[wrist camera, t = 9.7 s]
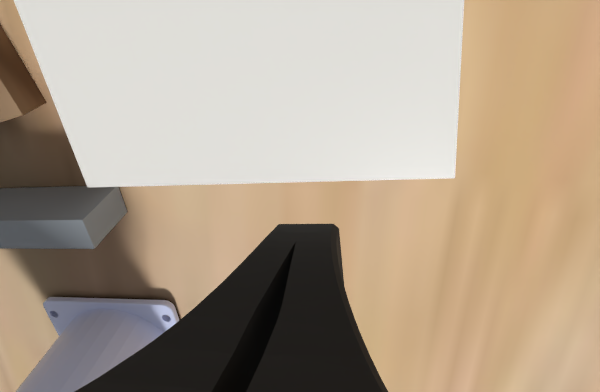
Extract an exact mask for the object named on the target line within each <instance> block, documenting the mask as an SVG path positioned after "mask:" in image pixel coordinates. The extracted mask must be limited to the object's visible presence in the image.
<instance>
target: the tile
mask: <svg viewBox="0 0 600 392" xmlns="http://www.w3.org/2000/svg"><path fill="white" fill-rule="evenodd" d="M45 103H46V101H45V99H44V97H43V96H42V94H41V92H40V91H39V89H38V87H37V86H36V84H35V82H34V81H33V79H32V77H31V76H30V74H29V72H28V71H27V69H26V67H25V65H24V64H23V62H22V60H21V59H20V57H19V55H18V54H17V52H16V50H15V49H14V47H13V45H12V44H11V42H10V40H9V39H8V37H7V35H6V34H5V32H4V30H3V28H2V27H1V25H0V122H4V121H7V120H10V119H13V118H16V117H19V116H22V115H24V114H26V113H28V112H30V111H32V110H34V109H35V108H37V107H39V106H41V105H43V104H45Z"/></svg>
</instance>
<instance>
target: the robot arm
mask: <svg viewBox="0 0 600 392" xmlns="http://www.w3.org/2000/svg"><path fill="white" fill-rule="evenodd" d="M43 305H44V308H45V310H46V312H47V314H48V316H49V318H50V320H51V322H52V323H53V325H54V327H55V329H56V331H57V333H58V335H59V337H58V339H57V340H56V341H55V342H54V344H53V345H52V346H51V347H50V349H49V350H48V351H47V353H46V354H45V355H44V356H43V358H42V359H41V360H40V361H39V363H38V364H37V365H36V366H35V368H34V369H33V370H32V371H31V373H30V374H29V375H28V377H27V378H26V379H25V380H24V382H23V383H22V384H21V385H20V387H19V388H18V389H17V390H16V392H388V391H387V389H386V387H385V385H384V383H383V382H382V380H381V378H380V376H379V374H378V371H377V369H376V367H375V365H374V363H373V361H372V359H371V357H370V355H369V352H368V350H367V348H366V346H365V343H364V341H363V339H362V336H361V334H360V332H359V329H358V326H357V324H356V321H355V319H354V316H353V313H352V310H351V307H350V304H349V301H348V298H347V295H346V292H345V288H344V279H343V269H342V258H341V247H340V236H339V228H338V227H336V226H335V225H334V224H279V225H278V226H277V227H276V228H275V229H274V230H273V231H272V232H271V233H270V234H269V235H268V236H267V237H266V238H265V239H264V240H263V241H262V242H261V243H260V244H259V245H258V246H257V248H256V249H255V250H254V251H253V252H252V253H251V254H250V255H249V256H248V257H247V258H246V259H245V260H244V261H243V262H242V263H241V264H240V265H239V266H238V267H237V268H236V269H235V270H234V271H233V272H232V273H231V274H230V275H229V276H228V277H227V278H226V279H225V280H224V281H223V282H222V283H221V284H220V285H219V286H218V287H217V288H216V289H215V290H214V291H213V292H211V293H210V294H209V295H208V296H207V297H206V298H205V299H204V300H203V301H202V302H201V303H199V304H198V305H197V306H196V307H195V308H194V309H193V310H192V311H190V312H189V313H188V314H187V315H186V316H184V317H183V318H182V319H181V320H179V318H178V315H177V312H176V309H175V306H174V305H173V304H172V303H171V302H170V301H167V300H144V299H108V298H73V297H49V298H47V299H46V300H45V302H44V303H43ZM167 315H168V316H167Z"/></svg>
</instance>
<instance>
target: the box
mask: <svg viewBox="0 0 600 392" xmlns="http://www.w3.org/2000/svg"><path fill="white" fill-rule="evenodd" d="M126 213H127V209H126V206H125V204H124V201H123V198H122V195H121V192H120V189H119V187H87V186H67V187H29V188H0V248H30V249H95V248H96V247H97V245H98V244H99V243H100V242H101V241H102V240H103V239H104V238H105V237H106V235H107V234H108V233H109V232H110V231H111V230H112V229H113V228H114V226H115V225H116V224H117V223H118V222H119V221H120V220H121V219H122V217H123V216H124V215H125V214H126Z"/></svg>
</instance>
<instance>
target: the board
mask: <svg viewBox="0 0 600 392" xmlns="http://www.w3.org/2000/svg"><path fill="white" fill-rule="evenodd" d="M14 2H15V5H16V7H17V10H18V12H19V15H20V17H21V20H22V22H23V25H24V28H25V30H26V33H27V35H28V38H29V40H30V43H31V45H32V48H33V50H34V53H35V55H36V58H37V61H38V63H39V66H40V68H41V71H42V73H43V76H44V78H45V81H46V83H47V86H48V88H49V91H50V94H51V96H52V99H53V101H54V104H55V106H56V109H57V111H58V114H59V116H60V119H61V121H62V124H63V127H64V129H65V132H66V134H67V137H68V139H69V142H70V144H71V147H72V149H73V152H74V154H75V157H76V160H77V162H78V165H79V167H80V170H81V172H82V175H83V177H84V180H85V182H86V185H87V187H127V186H166V185H205V184H244V183H283V182H322V181H361V180H400V179H439V178H455V166H456V147H457V128H458V109H459V90H460V71H461V52H462V32H463V13H464V0H14Z"/></svg>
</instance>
